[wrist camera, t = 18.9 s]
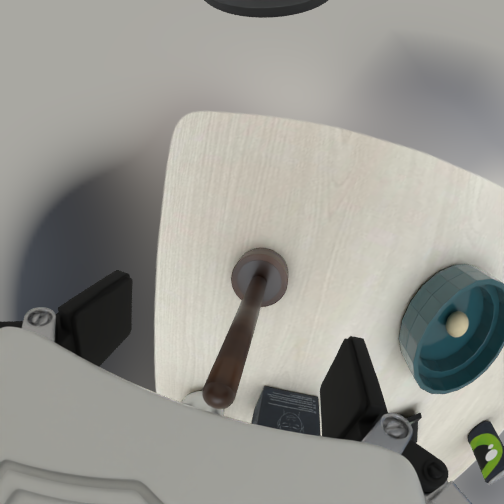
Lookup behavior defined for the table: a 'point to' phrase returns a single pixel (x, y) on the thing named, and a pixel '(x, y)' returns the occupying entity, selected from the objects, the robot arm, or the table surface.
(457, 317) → the ball
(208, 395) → the brown plunger
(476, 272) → the bowl
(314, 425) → the box
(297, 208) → the table surface
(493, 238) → the table surface
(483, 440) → the beverage can
